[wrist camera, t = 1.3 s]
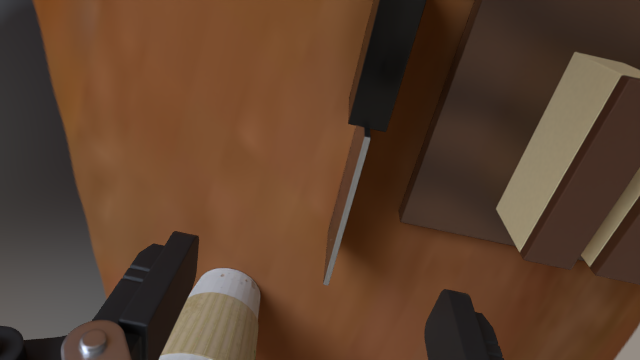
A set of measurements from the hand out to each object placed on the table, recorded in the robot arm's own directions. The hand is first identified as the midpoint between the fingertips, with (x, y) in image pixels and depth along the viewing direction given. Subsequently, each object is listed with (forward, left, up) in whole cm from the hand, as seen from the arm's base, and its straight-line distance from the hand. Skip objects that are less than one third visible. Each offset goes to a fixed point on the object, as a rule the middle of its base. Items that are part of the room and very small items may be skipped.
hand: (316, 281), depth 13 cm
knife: (+1, +2, -19) cm, 19 cm away
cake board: (-2, +16, -19) cm, 25 cm away
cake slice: (-1, +15, -17) cm, 23 cm away
